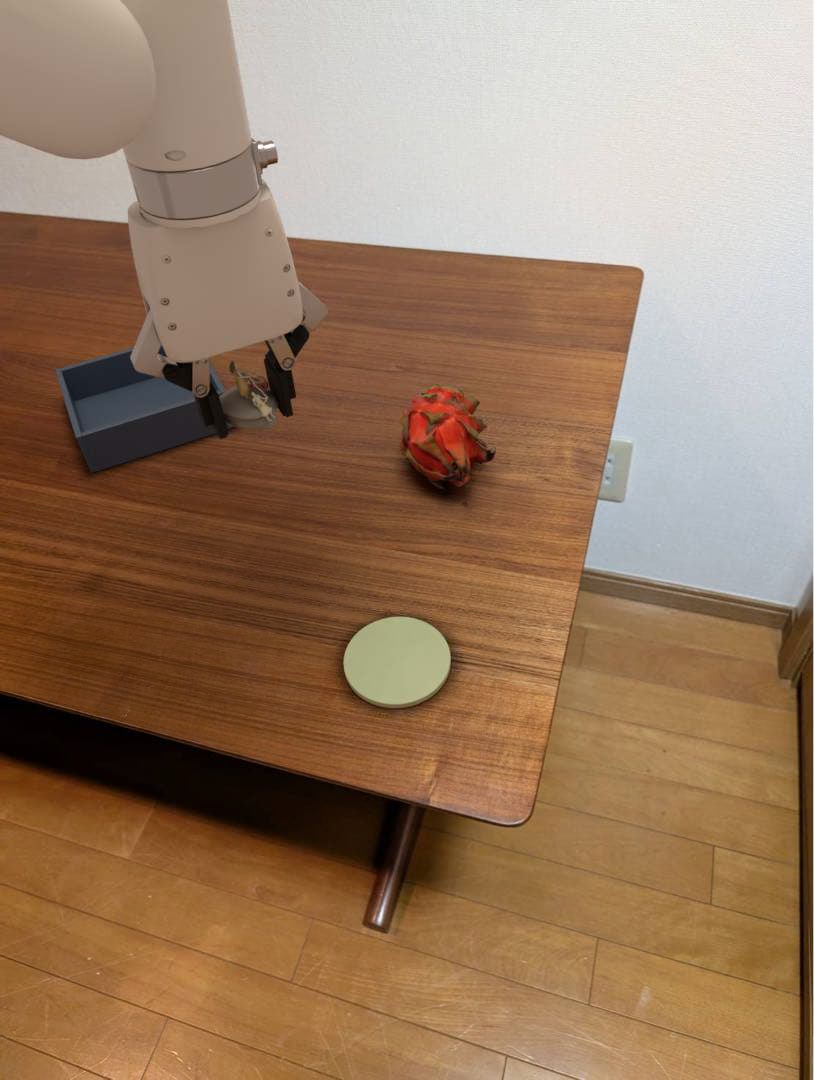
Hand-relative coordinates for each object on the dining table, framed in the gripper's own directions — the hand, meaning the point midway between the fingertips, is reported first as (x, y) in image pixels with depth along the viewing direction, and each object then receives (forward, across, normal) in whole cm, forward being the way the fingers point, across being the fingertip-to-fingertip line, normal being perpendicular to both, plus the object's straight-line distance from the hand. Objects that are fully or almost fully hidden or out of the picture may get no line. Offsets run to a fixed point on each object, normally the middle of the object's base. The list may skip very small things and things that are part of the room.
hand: (250, 415), depth 64 cm
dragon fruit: (+15, -18, -3) cm, 24 cm away
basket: (+15, +5, -26) cm, 31 cm away
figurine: (+1, 0, 0) cm, 1 cm away
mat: (+15, -4, +16) cm, 22 cm away
